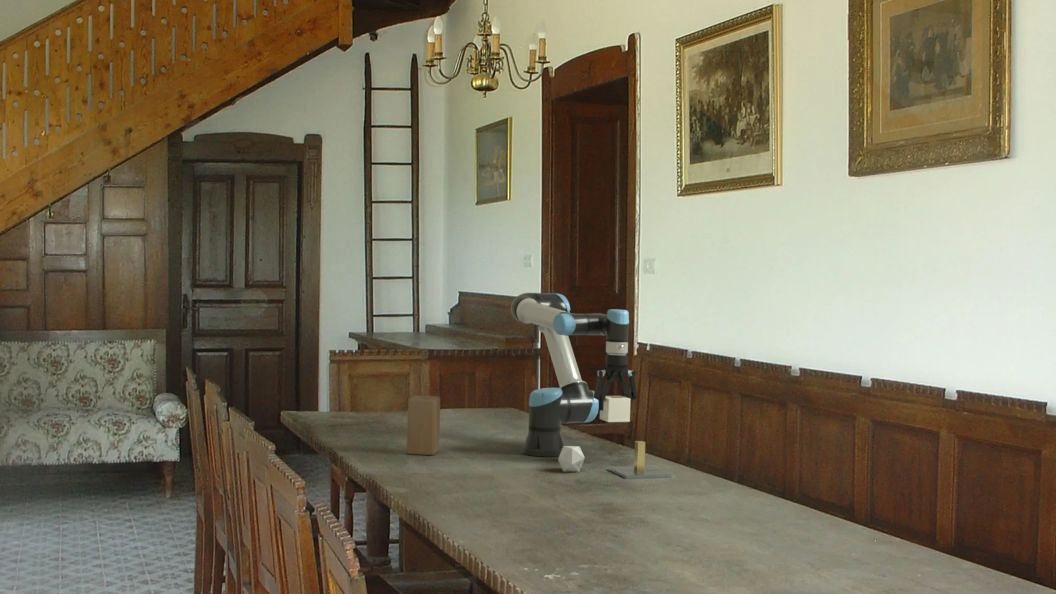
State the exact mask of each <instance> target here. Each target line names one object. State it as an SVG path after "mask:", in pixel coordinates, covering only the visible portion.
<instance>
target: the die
mask: <svg viewBox="0 0 1056 594" xmlns="http://www.w3.org/2000/svg"><path fill="white" fill-rule="evenodd" d="M584 460H585V455H584V453H583V451H582V449H581V447H580V446H576V445H575V446H574V445H569V446H568V445H564V446H563V448H562V451H561V453H560V456H558V460H557V461H558V463H559V465H560V467H561V470H562V472H565V473H567V472H569V473H570V472H571V473H574V472H575V473H579V472H580V470H581V469H582V466H583V465H584Z"/></svg>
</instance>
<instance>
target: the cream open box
mask: <svg viewBox="0 0 1056 594" xmlns="http://www.w3.org/2000/svg"><path fill="white" fill-rule="evenodd" d="M604 401H606V418H605V420H603V421H605V422H607V423H630V422H631V410H630V401H631V399H630V398H627V397H626V396H625V395H624V396H623V395H606V397H605V399H604ZM599 420H601V410H599Z"/></svg>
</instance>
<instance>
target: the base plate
mask: <svg viewBox="0 0 1056 594" xmlns="http://www.w3.org/2000/svg"><path fill="white" fill-rule="evenodd" d="M645 458H646V441H642V440H635V441H634V458H633V460H634V462H633V465H626V466H625V465H623V466H620V465H619V466H617V465H616V466H607V471H609V472H611V473H613V474H615V475H618V476H619V477H621V478H624V479H625V480H630V479H654V478H655V479H663V478H672V476H673V475H672V473H669V472H668V471H665V470H663V469H660V468H658V467H656V466H654V465H646V462H645V461H646V459H645Z"/></svg>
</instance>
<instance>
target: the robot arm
mask: <svg viewBox="0 0 1056 594" xmlns="http://www.w3.org/2000/svg"><path fill="white" fill-rule="evenodd" d="M570 306H571V305H570V302H569V300H568V299H567V297H566V296H565V295H563V294H561V293H556V292H549V293H548V292H546V293H545V292H544V293H543V292H524V293H521V294H518V295H517V296H516V297H515V298H514V299H513V300H512V303H511V305H510V313H511V315H512V317H513V319H514V320H516V321H517V322H519V323H523V324H525V325H526V324H534V325H537V328H538V331H539V332H540V333H542V334H543V335H544V337H545V341H546V345H547V348H548V351H549V355H550V357H551V358H550V359H551V362H552V365H553V369H554V372H555V375H556V379H557V382H558V386H559V387H545V388H544V387H543V388H538V389H534V390H532V391H531V392H530V394H529V398H528V399H529V400H528V432H527V435H526V438H525V441H524V444H523V448H522V453H523V454H524V455H528V456H533V457H543V458H545V457H547V458H549V457H551V458H552V457H559V456H560V453H561V451H562V448H563V446H565V444H564V440H563V436H562V431H561V430H562V427H561V426H562V424H565V425H566V424H585V423H591V422H592V421H594V420H595V418H596V417H597V415H598V413H599V411H600V410H601V419H600V420H602V421H604V420H605V418H606V401H604V399H605V397H606V396H607V394H608V392H609V390H610V388H611V386H612V383H613V382H619V383H620V385H621V388H622V390H623V393H624V396H626V397H627V398H630V399H631V401H630V411H631V410H632V405H633V401H634V400H636V399H638V393H637V392H638V391H637V386H636V385H637V383H636V371H635V370H629V369H628V357H629V356H628V353H629V351H628V350H629V328H630V326H629V325H630V320H629V319H630V315H629V314H630V313H629V311H628V310H626V309H617V308H616V309H613V308H612V309H610V308H609V309H608V310H607V312H606V314H605V313H598V312H597V313H572V312H570V311H571V307H570ZM569 336H606V341H605V352H606V355H605V367H604V369H602V370H599V369H598V370H596V382H595V388H594V390H592V389H590V388H589V385H588V383H587V382H586V381H584V380H583V379H582V377H581V373H580V371H579V370H580V369H579V366H578V362H577V361H576V357H575V354H574V350H573V347H572V344H571V340H570V338H569ZM605 375H606V379H605V382H604V384H603V380H604V376H605ZM626 376H628V381H629V382H628V383H629V387H628V383H627V379H626ZM602 386H603V387H602Z"/></svg>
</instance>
